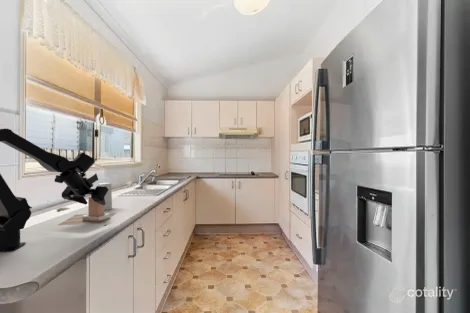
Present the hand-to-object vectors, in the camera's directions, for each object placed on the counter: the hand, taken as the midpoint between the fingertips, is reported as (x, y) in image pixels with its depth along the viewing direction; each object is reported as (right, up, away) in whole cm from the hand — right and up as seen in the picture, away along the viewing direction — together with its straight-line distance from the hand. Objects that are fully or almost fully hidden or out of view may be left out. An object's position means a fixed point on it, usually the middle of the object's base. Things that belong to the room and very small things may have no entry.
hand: (95, 204), depth 110 cm
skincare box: (-8, -8, +24) cm, 27 cm away
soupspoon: (-27, -9, +16) cm, 32 cm away
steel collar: (0, -7, +1) cm, 7 cm away
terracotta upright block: (0, -7, +1) cm, 7 cm away
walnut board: (-4, -8, +2) cm, 9 cm away
